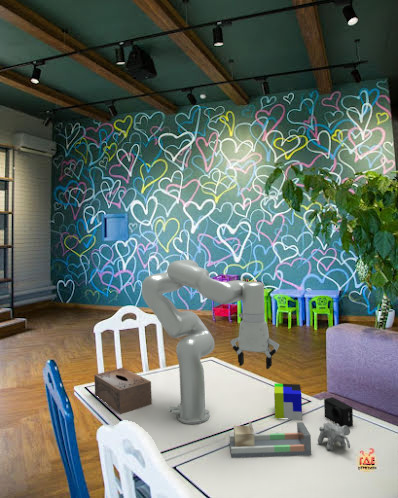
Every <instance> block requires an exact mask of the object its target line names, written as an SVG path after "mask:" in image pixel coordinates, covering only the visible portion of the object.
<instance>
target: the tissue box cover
mask: <svg viewBox="0 0 398 498" xmlns="http://www.w3.org/2000/svg"><path fill="white" fill-rule="evenodd" d="M94 395H96V396H98V397H99V398H100V399H102V400H103V401H104V402H106V403H107V404H108V405H107V404H106V403H105V404H106V405H107V406H108V407H110V406H111V407H112V408H111V407H110V408H111V409H113V410H114V411H116V412H117V414H119V415H123V414H127V413H129V412H133V411H135V410H138V409H142V408H145V407H148V406H150V405H152V403H153V402H152V401H153V399H152V396H153V395H152V381H150V380H149V379H147V378H145V377H143V376H141V375H139V374H138V373H135V372H133V371H131V370H128V368H127V369H126V368H125V367H120V368H116V369H115V368H114V369H113V370H109V371H104V372H99V373H96V374H94ZM96 396H95V397H96ZM99 398H98V399H99ZM100 399H99V400H100ZM102 400H101V401H102ZM103 401H102V402H103ZM104 402H103V403H104Z"/></svg>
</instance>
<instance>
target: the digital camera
mask: <svg viewBox="0 0 398 498" xmlns="http://www.w3.org/2000/svg"><path fill="white" fill-rule="evenodd" d="M323 400H324V401H323V406H324V407H323V409H324V410H323V411H324V418H326V419H327V420H329V421H331V422H332V423H333V424H335V423H336V424H337V423H338V424H339V425H340V426H341V427H342V426H345V425H346V426H348V427H349V428H351V427H353V426H354V420H353V419H354V414H353V413H354V412H353V411H354V410H353V407H352V406H351V405H349V404H346V403H345V402H343V401H341V400H338V399H337V398H335V397H333V396H331V397H329V398H324V399H323Z"/></svg>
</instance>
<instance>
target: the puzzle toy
mask: <svg viewBox="0 0 398 498" xmlns="http://www.w3.org/2000/svg"><path fill="white" fill-rule="evenodd" d="M273 388H274V391H273V392H274V393H273V395H274V398H273V399H274V419H275V418H288V419H290V420H289V421H303V402H302V401H303V399H302V388H301V384H300V383H298V384H297V383H296V384H295V383H274V387H273Z"/></svg>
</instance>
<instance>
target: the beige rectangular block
mask: <svg viewBox="0 0 398 498" xmlns="http://www.w3.org/2000/svg"><path fill="white" fill-rule="evenodd" d="M255 434H256V433H255V431H254V428H253V424H252V421H248V425H233V435H234V443H235V447H241V446H254V436H255Z"/></svg>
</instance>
